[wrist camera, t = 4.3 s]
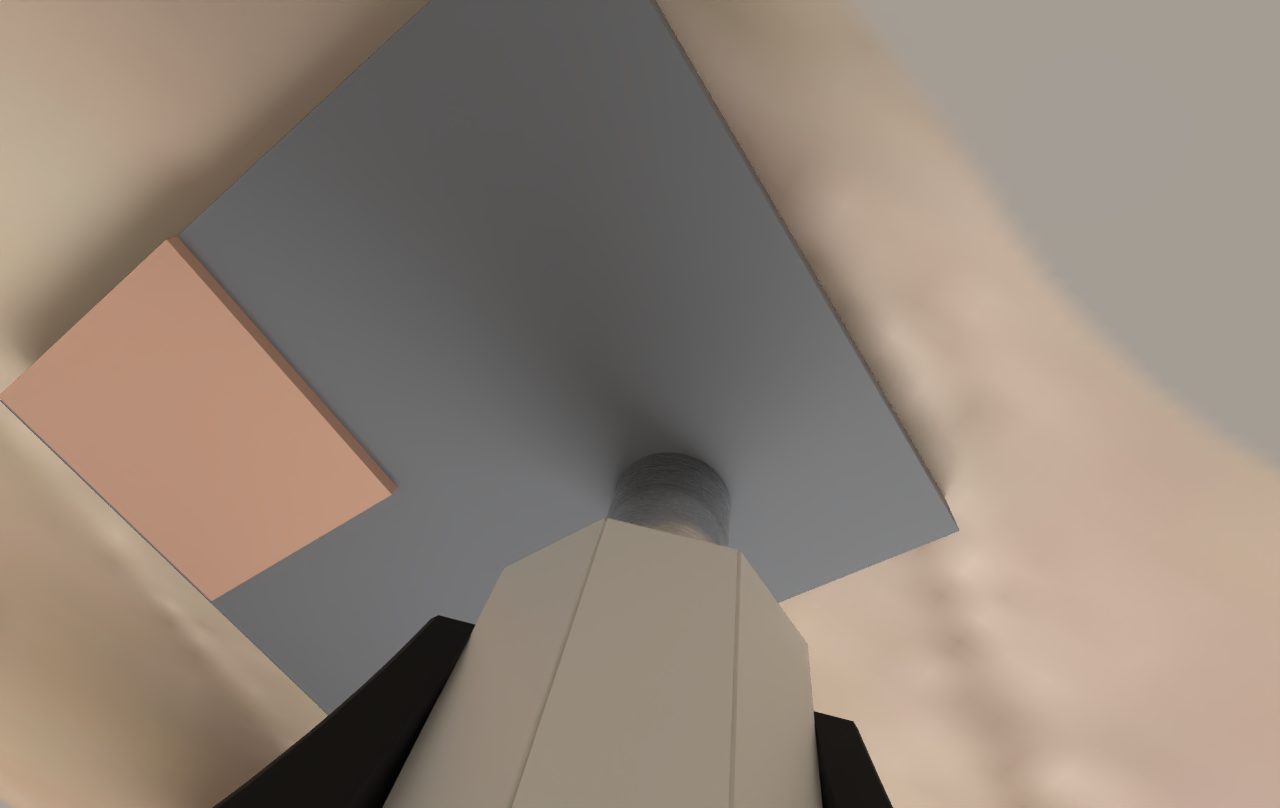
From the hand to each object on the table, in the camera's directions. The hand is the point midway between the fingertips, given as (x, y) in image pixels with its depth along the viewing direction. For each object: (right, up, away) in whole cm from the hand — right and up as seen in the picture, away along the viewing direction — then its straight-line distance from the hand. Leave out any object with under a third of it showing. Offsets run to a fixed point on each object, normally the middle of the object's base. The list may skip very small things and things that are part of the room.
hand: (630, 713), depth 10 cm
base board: (-4, +4, +6) cm, 9 cm away
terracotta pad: (-10, +4, +6) cm, 13 cm away
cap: (0, +1, +1) cm, 1 cm away
